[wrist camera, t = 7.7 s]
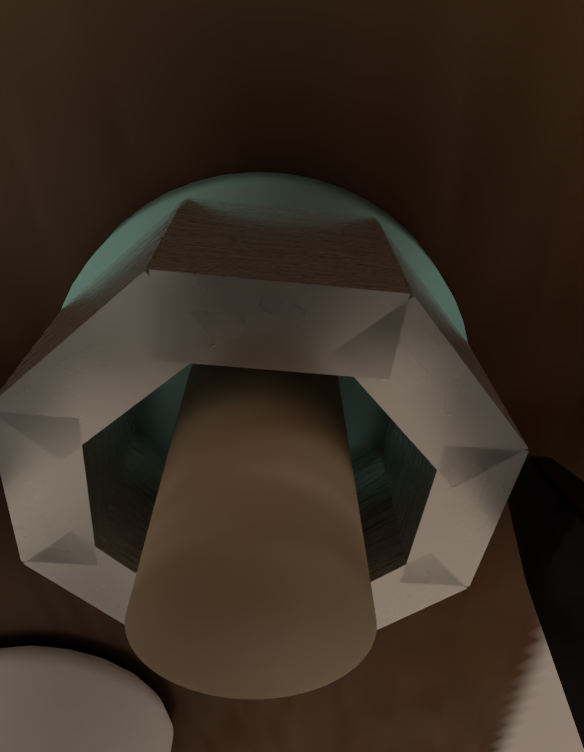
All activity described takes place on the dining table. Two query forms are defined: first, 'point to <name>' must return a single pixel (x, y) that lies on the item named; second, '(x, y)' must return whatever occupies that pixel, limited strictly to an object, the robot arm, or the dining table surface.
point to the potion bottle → (76, 704)
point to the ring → (258, 351)
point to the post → (257, 492)
